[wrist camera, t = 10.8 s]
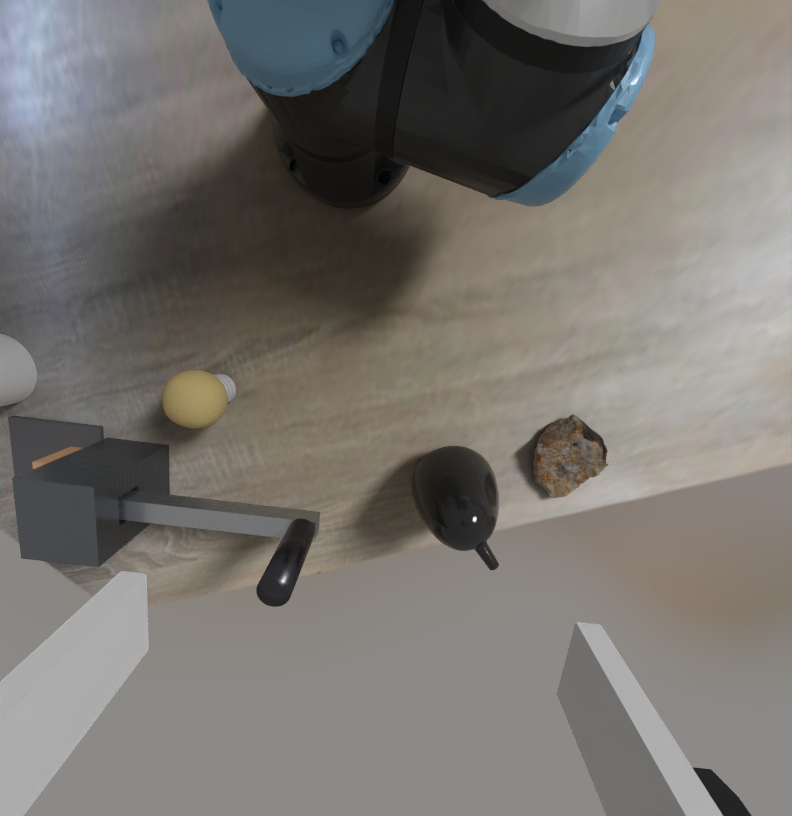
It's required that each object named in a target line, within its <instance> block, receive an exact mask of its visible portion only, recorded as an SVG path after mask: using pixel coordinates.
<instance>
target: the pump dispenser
mask: <svg viewBox="0 0 792 816" xmlns="http://www.w3.org/2000/svg"><path fill="white" fill-rule="evenodd" d="M411 488H412V496H413V500H414V503H415V506H416V508H417V511H418V513H419V515H420V517H421V519H422V520H423V522H424V523H425V525H426V526H427V528H428V529H429V530H430V531H431V533H432V534H433V535H434V536H435V537H436V538H437V539H438V540H439V541H440V542H442V543H443V544H444V545H446V546H448V547H450V548H452V549H455V550H459V551H468V550H473V549H475V550H476V552H477V553H478V554H479V556H480V557H481V558H482V560H483V561H484V562H485V564H486V565H487V566H488V568H489V569H490V570H495V569H496V568H497V567H498V566H499V564H498V562H497V560H496V558H495V556H494V555H493V553H492V551H491V549H490V547H489V546H488V544H487V542H486V541H487V540H488V539H489V538H490V536H491V535H492V533H493V531H494V529H495V526H496V522H497V518H498V511H499V494H498V487H497V482H496V478H495V475H494V473H493V470H492V468H491V467H490V465H489V463H488V462H487V461H486V460H485V459H484V457H482V456H481V455H480V454H479V453H477V452H475V451H474V450H472V449H469V448H466V447H461V446H447V447H442V448H439V449H437V450H434V451H433V452H431V453H429V454H428V455H427V456H425V457H424V458H423V459H422V460H421V461H420V463H419V464H418V466H417V467H416V469H415V471H414V474H413V477H412V485H411Z"/></svg>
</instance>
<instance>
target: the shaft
mask: <svg viewBox="0 0 792 816" xmlns="http://www.w3.org/2000/svg"><path fill="white" fill-rule="evenodd" d="M118 504H119V520H128V521H136V522H145V523H154V524H163V525H172V526H180V527H189V528H198V529H207V530H216V531H224V532H233V533H242V534H251V535H260V536H268V537H277V538H282V540H281V542H280V544H279V546H278V548H277V550H276V551H275V553H274V555H273V557H272V559H271V561H270V563H269V565H268V567H267V568H266V570H265V572H264V574H263V576H262V578H261V580H260V582H259V584H258V586H257V595H258V597H259V599H260V600H261V601H262V602H263V603H264V604H266V605H269V606H276V607H277V606H281V605H284V604H285V603H286V602H287V601H288V600H289V599H290V596H291V594H292V591H293V589H294V586H295V584H296V581H297V579H298V576H299V573H300V571H301V568H302V566H303V563H304V561H305V558H306V556H307V553H308V551H309V548H310V545H311V543H312V542H315V539H316V536H317V534H318V531H319V521H320V512H316V511H307V510H299V509H290V508H281V507H272V506H264V505H255V504H246V503H238V502H229V501H220V500H211V499H203V498H194V497H185V496H177V495H168V494H159V493H150V492H142V491H133V490H130V491H128V492H127V493H125V494H124V495H122V496H121V497H119V498H118Z"/></svg>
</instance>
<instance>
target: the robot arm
mask: <svg viewBox="0 0 792 816" xmlns="http://www.w3.org/2000/svg"><path fill="white" fill-rule="evenodd" d="M208 3H209V6H210V9H211V13H212V15H213V18H214V20H215V23H216V25H217V27H218V29H219V31H220V32H221V34H222V36H223V38H224V40H225V43H226V46H227V48H228V50H229V52H230V54H231V57H232V60H233V62H234V63H235V65H236V66H237V68H238V69H239V71H240V72H241V73H242V74H243V75H245V76H246V78H247V80H248V81H249V82H250V84H251V85H252V87H253V88H254V90H255V91H256V93H257V94H258V96H259V97H260V98H261V100H262V101H263V103H264V104H265V106H266V107H267V109H268V110H269V112H270V113H271V115H272V125H273V133H274V138H275V142H276V145H277V148H278V151H279V154H280V156H281V159H282V161H283V163H284V164H285V166H286V168H287V169H288V171H289V172H290V174H291V175H292V176H293V178H294V179H295V180H296V181H297V183H298V184H299V185H300V186H301V187H302V188H303V189H304V190H305V191H306V192H307V193H309V194H310V195H311V196H313V197H314V198H316V199H317V200H319V201H321V202H323V203H326V204H328V205H331V206H335V207H341V208H358V207H363V206H367V205H370V204H372V203H375V202H377V201H379V200H380V199H382V198H384V197H385V196H386V195H388V194H389V193H390V192H391V191H393V190H394V188H395V187H396V186H397V185H398V184H399V183H400V182H401V180H402V179H403V177H404V176H405V174H406V172H407V170H408V169H409V166H413V167H415V168H418V169H420V170H423V171H426V172H428V173H431V174H434V175H436V176H439V177H442V178H444V179H447V180H449V181H452V182H455V183H457V184H460V185H463V186H465V187H468V188H471V189H473V190H476V191H478V192H481V193H484V194H486V195H488V196H489V197H490V198H495V199H496V200H504V199H505V200H508V201H512V202H515V203H519V204H522V205H526V206H541V205H544V204H547V203H550V202H552V201H554V200H555V199H557V198H558V197H560V196H561V195H563V194H564V193H565V192H566V191H568V190H569V189H570V188H571V187H572V186H573V185H574V184H575V183H576V182H577V181H578V180H579V179H580V178H581V177H582V176H583V175H584V174H585V173H586V171H587V170H588V169H589V168H590V167H591V166H592V164H593V163H594V162H595V161H596V159H597V158H598V157H599V155H600V154H601V153H602V151H603V150H604V149H605V147H606V146H607V145H608V143H609V142H610V140H611V139H612V137H613V135H614V134H615V128H616V125H617V123H618V121H619V120H620V119H621V118H622V117H623V116H624V115H625V114H626V113H627V112H628V111H629V109H630V107H631V105H632V104H633V102H634V100H635V98H636V96H637V94H638V93H639V91H640V88H641V86H642V84H643V82H644V80H645V77H646V75H647V72H648V70H649V67H650V64H651V61H652V57H653V52H654V45H655V33H654V31H653V29H652V27H651V26H650V24H649V21H650V20H651V18H652V17H653V15H654V13H655V11H656V10H657V8H658V6H659V3H660V0H208ZM148 642H149V641H148V608H147V575H146V574H143V573H134V572H125V571H120V572H119V573H118V574H117V575H116V576H115V577H114V578H113V579H112V580H111V581H110V582H108V583H107V584H106V585H105V586H104V587H103V588H102V589H101V590H100V591H99V592H98V593H96V594H95V595H94V596H93V597H92V598H91V599H90V600H89V601H88V602H87V603H86V604H85V605H83V606H82V607H81V608H80V609H79V610H78V611H77V612H76V613H75V614H74V615H72V617H70V618H69V619H68V620H67V621H66V622H65V623H64V624H63V625H62V626H61V627H59V628H58V629H57V630H56V631H55V632H54V633H53V634H52V635H51V636H50V637H49V638H47V639H46V640H45V641H44V642H43V643H42V644H41V645H40V646H39V647H38V648H37V649H36V650H34V651H33V652H32V653H31V654H30V655H29V656H28V657H27V658H26V659H25V660H23V661H22V662H21V663H20V664H19V665H18V666H17V667H16V668H15V669H14V670H13V671H11V672H10V673H9V674H8V675H7V676H6V677H5V678H4V679H3V680H2V681H1V682H0V816H24V814H25V813H26V812H27V811H28V809H29V808H30V807H31V805H32V804H33V803H34V801H35V800H36V799H37V797H38V796H39V795H40V793H41V792H42V790H43V789H44V788H45V787H46V785H47V784H48V783H49V781H50V780H51V779H52V777H53V776H54V775H55V773H56V772H57V771H58V769H59V768H60V766H61V765H62V764H63V763H64V761H65V760H66V758H67V757H68V756H69V755H70V753H71V752H72V751H73V749H74V748H75V747H76V745H77V744H78V743H79V741H80V740H81V739H82V737H83V736H84V735H85V733H86V732H87V731H88V729H89V728H90V727H91V725H92V724H93V723H94V722H95V720H96V719H97V717H98V716H99V715H100V714H101V712H102V711H103V709H104V708H105V707H106V706H107V704H108V703H109V702H110V700H111V699H112V698H113V696H114V695H115V694H116V692H117V691H118V690H119V688H120V687H121V686H122V684H123V683H124V682H125V680H126V679H127V678H128V676H129V675H130V674H131V672H132V671H133V670H134V668H135V667H136V666H137V664H138V663H139V662H140V660H141V659H142V658H143V656H144V655H145V654H146V652H147V651H148V650H149V643H148ZM557 695H558V698H559V700H560V703H561V705H562V708H563V710H564V713H565V715H566V717H567V720H568V722H569V725H570V727H571V730H572V732H573V735H574V737H575V739H576V742H577V744H578V747H579V749H580V752H581V754H582V757H583V759H584V761H585V764H586V766H587V769H588V771H589V774H590V776H591V778H592V781H593V783H594V786H595V788H596V791H597V793H598V795H599V798H600V801H601V803H602V805H603V808H604V810H605V813H606V815H607V816H751V815H750V813H749V812H748V810H747V809H746V807H745V806H744V804H743V803H742V802H741V800H740V799H739V797H738V796H737V795H736V794H735V793H734V792H733V791H732V790H731V789H730V788H729V787H728V786H727V785H726V784H725V783H724V782H723V781H722V780H721V779H720V778H719V777H718V776H717V775H716V774H715V773H714V772H713V771H712V770H711V769H702V768H693V767H692V766H691V765H690V763H689V762H688V760H687V759H686V757H685V756H684V754H683V753H682V751H681V749H680V748H679V746H678V745H677V743H676V742H675V740H674V739H673V737H672V735H671V734H670V732H669V731H668V729H667V727H666V726H665V724H664V723H663V721H662V720H661V718H660V717H659V715H658V713H657V712H656V710H655V709H654V707H653V706H652V704H651V703H650V701H649V700H648V698H647V696H646V695H645V693H644V692H643V690H642V689H641V687H640V685H639V684H638V682H637V681H636V679H635V678H634V676H633V675H632V673H631V672H630V670H629V668H628V667H627V665H626V664H625V662H624V660H623V659H622V657H621V656H620V654H619V653H618V651H617V650H616V648H615V646H614V645H613V643H612V642H611V640H610V639H609V637H608V636H607V634H606V632H605V631H604V629H603V628H602V626H601V625H599V624H590V623H581V622H576V624H575V627H574V631H573V635H572V638H571V642H570V646H569V650H568V654H567V657H566V661H565V665H564V669H563V672H562V676H561V680H560V684H559V687H558V691H557Z"/></svg>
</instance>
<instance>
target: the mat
mask: <svg viewBox="0 0 792 816" xmlns="http://www.w3.org/2000/svg"><path fill="white" fill-rule="evenodd" d="M8 419H9V428H10V437H11V446H12V455H13V464H14V473H15V477H16V476H18V475H21V474H23V473H25V472H28V471H30V470H32V469H33V465H32V462H34V461H36V460H39V459H41V458H44V457H46V456H49V455H51V454H54V453H56V452H59V451H61V450H64V449H66V448H69V447H80V448H85V447H87V446H89V445H92V444H94V443H97V442H99V441H101V440H104V436H103V426H95V425H86V424H78V423H69V422H61V421H52V420H43V419H35V418H26V417H18V416H10V417H8Z"/></svg>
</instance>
